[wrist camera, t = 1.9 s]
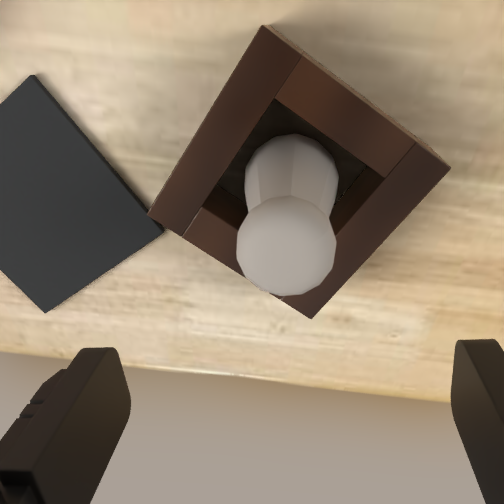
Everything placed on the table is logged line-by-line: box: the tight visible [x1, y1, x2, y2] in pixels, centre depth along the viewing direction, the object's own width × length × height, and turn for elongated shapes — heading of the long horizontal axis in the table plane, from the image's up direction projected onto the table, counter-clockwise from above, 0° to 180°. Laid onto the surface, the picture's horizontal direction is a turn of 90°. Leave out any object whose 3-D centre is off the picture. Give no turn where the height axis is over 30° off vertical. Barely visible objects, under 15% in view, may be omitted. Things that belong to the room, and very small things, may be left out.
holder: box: [147, 25, 451, 319], centre depth 28 cm, size 12×12×4 cm
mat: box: [0, 75, 165, 313], centre depth 33 cm, size 13×13×1 cm
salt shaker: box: [236, 134, 339, 296], centre depth 25 cm, size 6×6×13 cm
